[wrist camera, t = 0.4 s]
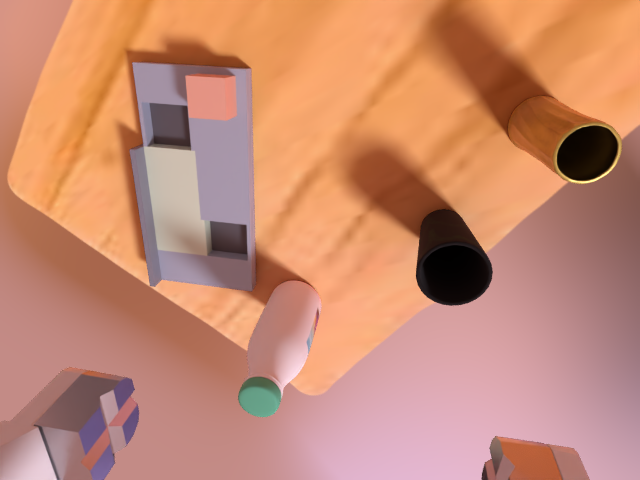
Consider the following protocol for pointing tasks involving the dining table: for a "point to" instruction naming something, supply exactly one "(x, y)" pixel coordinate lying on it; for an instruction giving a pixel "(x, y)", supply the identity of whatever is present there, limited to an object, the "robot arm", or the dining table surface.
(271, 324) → the milk bottle
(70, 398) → the robot arm
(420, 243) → the cup
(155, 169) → the board
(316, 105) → the dining table surface
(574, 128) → the vase
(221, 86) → the block
